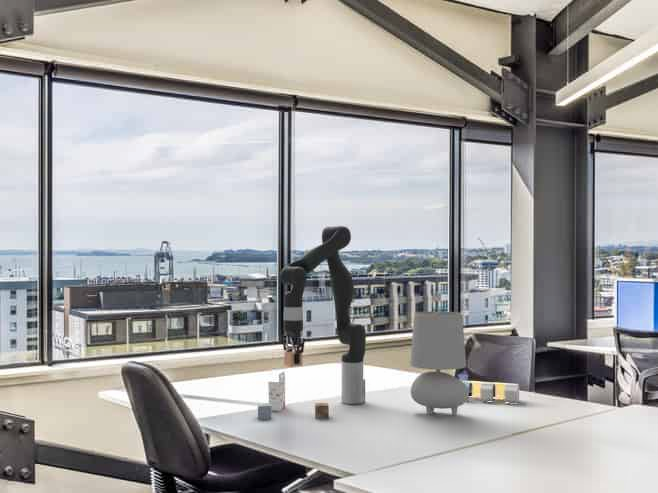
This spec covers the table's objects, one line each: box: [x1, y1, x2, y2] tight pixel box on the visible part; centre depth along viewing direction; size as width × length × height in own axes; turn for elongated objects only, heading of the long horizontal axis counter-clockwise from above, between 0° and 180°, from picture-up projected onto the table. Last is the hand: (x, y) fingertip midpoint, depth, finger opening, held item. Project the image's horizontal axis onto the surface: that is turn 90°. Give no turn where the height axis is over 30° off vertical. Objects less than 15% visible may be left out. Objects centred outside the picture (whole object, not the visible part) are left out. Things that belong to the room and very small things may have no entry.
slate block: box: [257, 402, 272, 420], centre depth 278 cm, size 5×5×5 cm
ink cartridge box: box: [267, 371, 286, 412], centre depth 294 cm, size 9×5×15 cm, turn 168°
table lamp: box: [410, 311, 469, 416], centre depth 284 cm, size 23×22×40 cm
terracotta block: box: [283, 350, 303, 368], centre depth 279 cm, size 5×5×5 cm
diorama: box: [457, 370, 520, 403], centre depth 311 cm, size 25×10×13 cm, turn 70°
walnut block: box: [314, 402, 330, 420], centre depth 279 cm, size 5×5×5 cm
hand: (293, 362), depth 279 cm, fingers closed on terracotta block, 5 cm apart
